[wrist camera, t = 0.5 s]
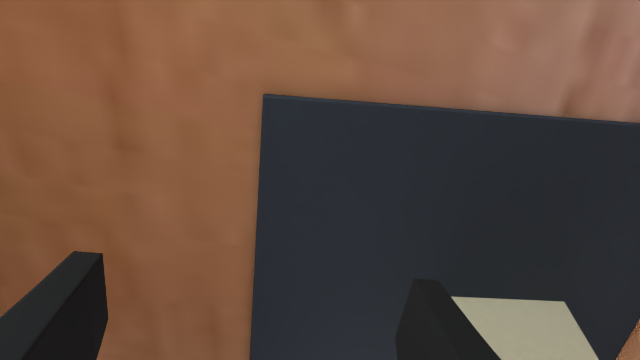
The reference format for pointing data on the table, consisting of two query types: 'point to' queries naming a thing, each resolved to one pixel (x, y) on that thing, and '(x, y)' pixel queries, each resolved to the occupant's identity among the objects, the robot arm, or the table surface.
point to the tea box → (527, 328)
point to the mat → (437, 221)
